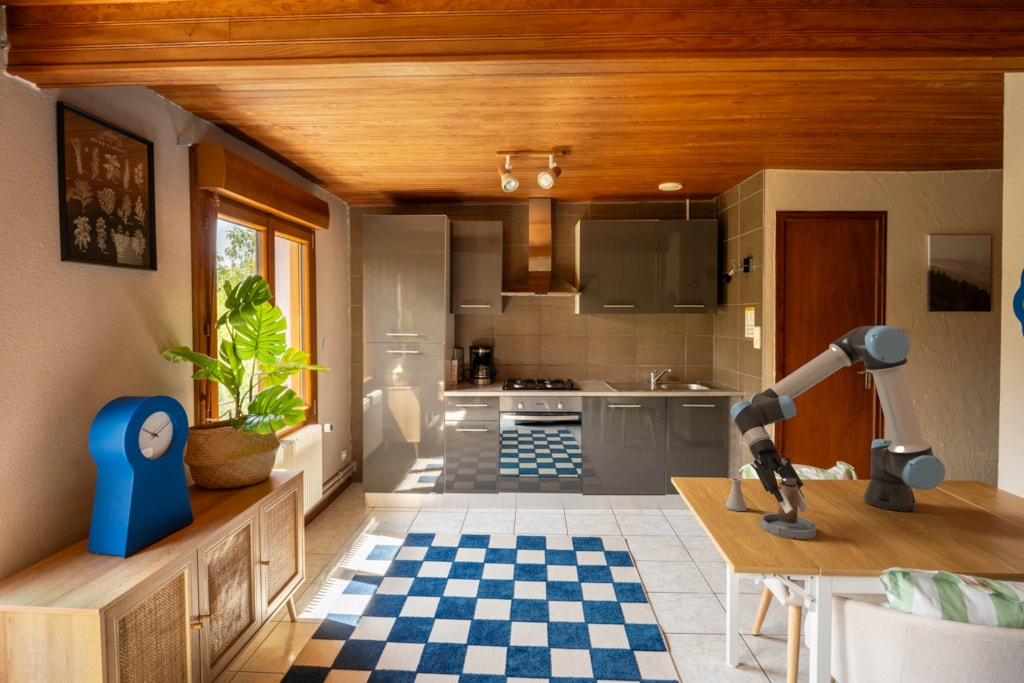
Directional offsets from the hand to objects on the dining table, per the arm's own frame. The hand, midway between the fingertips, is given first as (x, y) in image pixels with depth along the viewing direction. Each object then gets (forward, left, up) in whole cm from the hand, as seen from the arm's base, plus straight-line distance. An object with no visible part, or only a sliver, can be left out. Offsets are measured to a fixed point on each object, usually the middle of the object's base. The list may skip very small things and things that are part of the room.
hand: (797, 510), depth 160 cm
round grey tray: (+1, -4, -7) cm, 8 cm away
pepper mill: (+1, -4, -4) cm, 6 cm away
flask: (+9, -23, -7) cm, 25 cm away
